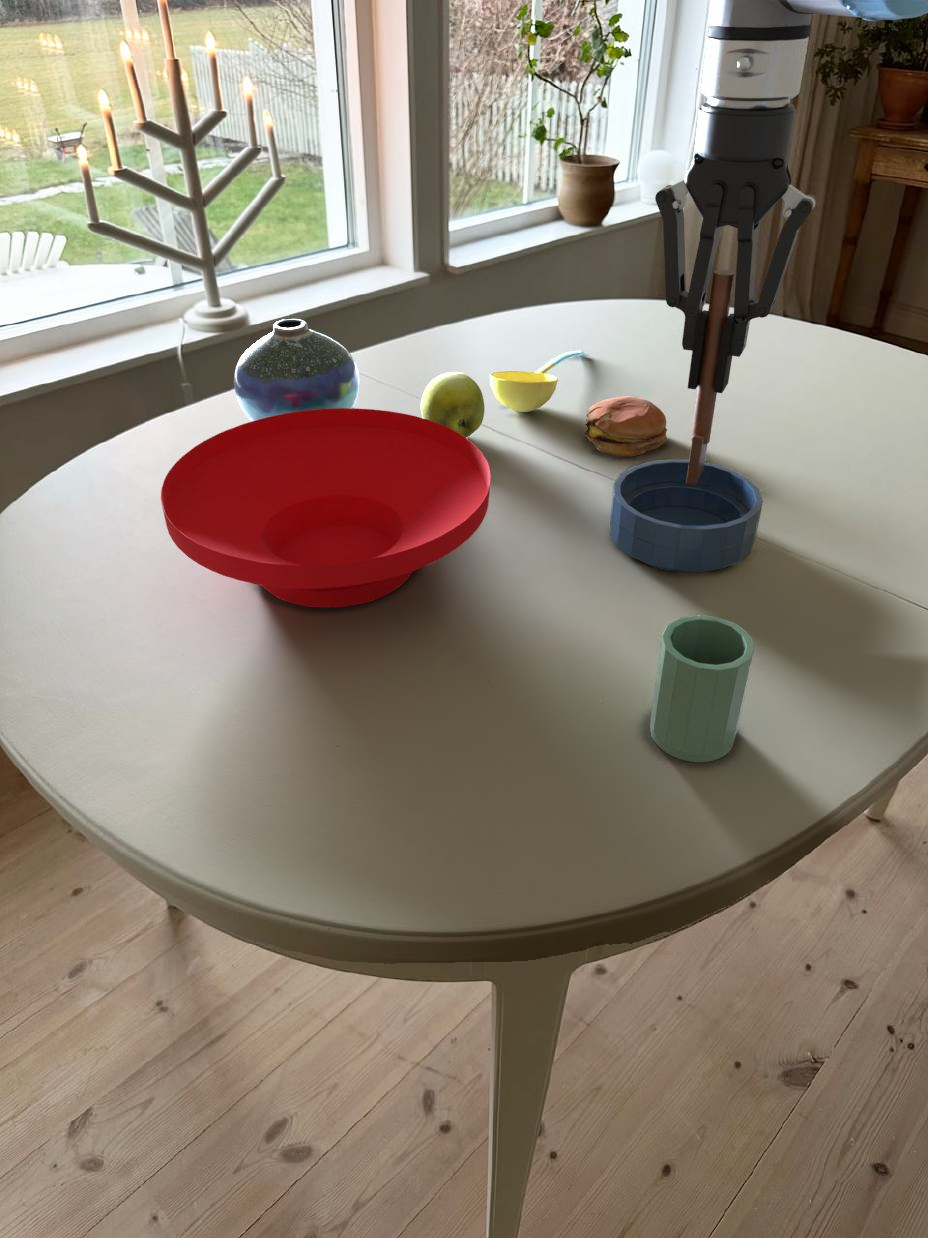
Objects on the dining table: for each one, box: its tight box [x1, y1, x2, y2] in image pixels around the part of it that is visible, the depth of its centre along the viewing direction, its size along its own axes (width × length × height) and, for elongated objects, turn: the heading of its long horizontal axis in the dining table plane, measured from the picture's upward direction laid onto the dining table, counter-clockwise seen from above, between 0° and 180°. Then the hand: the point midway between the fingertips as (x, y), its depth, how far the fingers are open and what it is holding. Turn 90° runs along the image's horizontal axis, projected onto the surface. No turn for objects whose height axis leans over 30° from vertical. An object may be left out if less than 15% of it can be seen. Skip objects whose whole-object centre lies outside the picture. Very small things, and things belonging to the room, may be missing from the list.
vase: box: [233, 318, 360, 422], centre depth 114 cm, size 15×15×13 cm
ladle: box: [489, 350, 585, 413], centre depth 127 cm, size 9×26×6 cm, turn 154°
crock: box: [649, 614, 756, 763], centre depth 69 cm, size 6×6×9 cm
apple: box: [420, 371, 485, 438], centre depth 113 cm, size 8×9×8 cm
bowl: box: [160, 407, 492, 608], centre depth 89 cm, size 30×30×10 cm
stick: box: [686, 269, 736, 485], centre depth 87 cm, size 2×3×20 cm, turn 155°
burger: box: [583, 395, 668, 458], centre depth 112 cm, size 10×9×5 cm
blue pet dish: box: [609, 458, 764, 573], centre depth 93 cm, size 14×14×6 cm
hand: (707, 385), depth 87 cm, fingers closed on stick, 2 cm apart
